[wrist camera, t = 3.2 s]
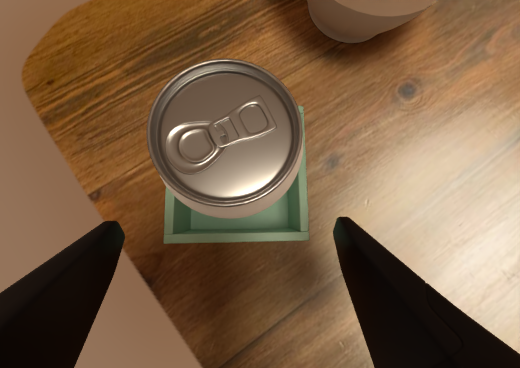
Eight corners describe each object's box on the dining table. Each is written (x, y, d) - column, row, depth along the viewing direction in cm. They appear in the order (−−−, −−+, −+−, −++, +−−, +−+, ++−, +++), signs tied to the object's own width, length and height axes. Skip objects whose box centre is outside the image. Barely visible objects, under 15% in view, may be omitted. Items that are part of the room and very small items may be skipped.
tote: (294, 234, 20) (309, 240, 15) (185, 236, 20) (163, 243, 14) (290, 131, 21) (303, 105, 16) (188, 131, 21) (169, 104, 16)
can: (191, 164, 20) (104, 89, 8) (256, 134, 20) (264, 22, 9) (223, 230, 19) (179, 254, 7) (288, 196, 20) (346, 168, 8)
